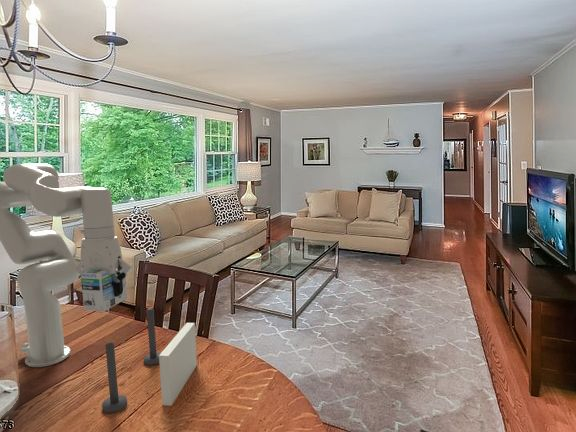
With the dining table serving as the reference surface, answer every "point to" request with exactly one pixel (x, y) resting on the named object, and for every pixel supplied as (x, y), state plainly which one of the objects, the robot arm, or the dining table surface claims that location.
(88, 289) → the light bulb box
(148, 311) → the cord post
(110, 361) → the post
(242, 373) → the dining table surface
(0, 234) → the robot arm
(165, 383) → the breaker panel
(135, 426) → the dining table surface
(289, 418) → the dining table surface
